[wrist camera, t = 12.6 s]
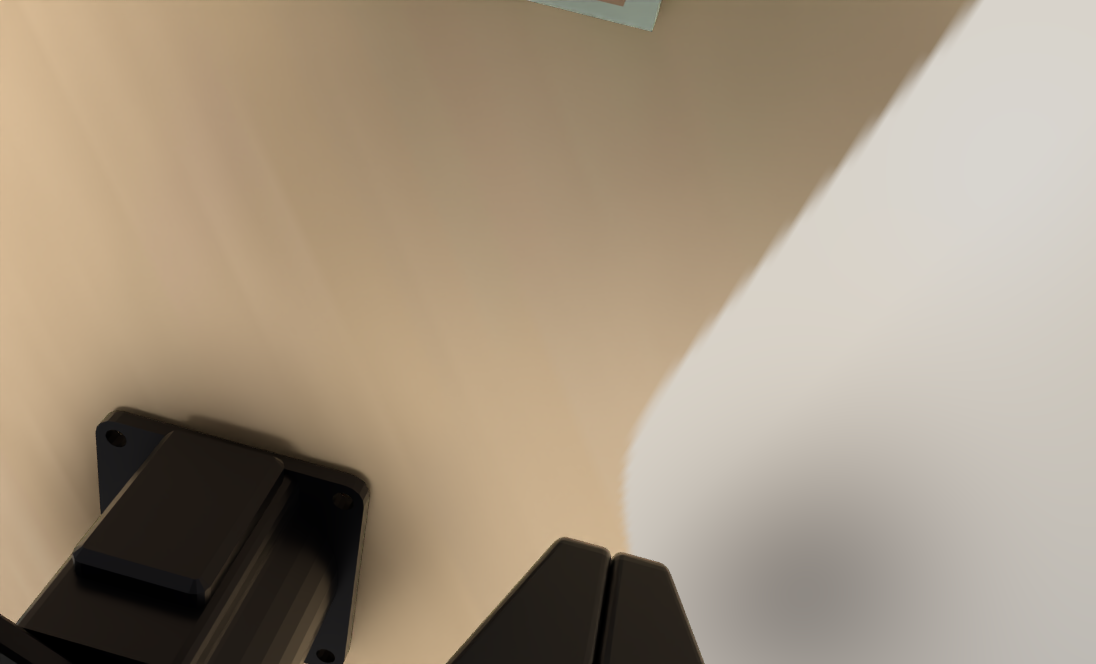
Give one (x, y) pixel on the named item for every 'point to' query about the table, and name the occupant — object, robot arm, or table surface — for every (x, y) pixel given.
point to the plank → (615, 2)
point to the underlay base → (613, 11)
